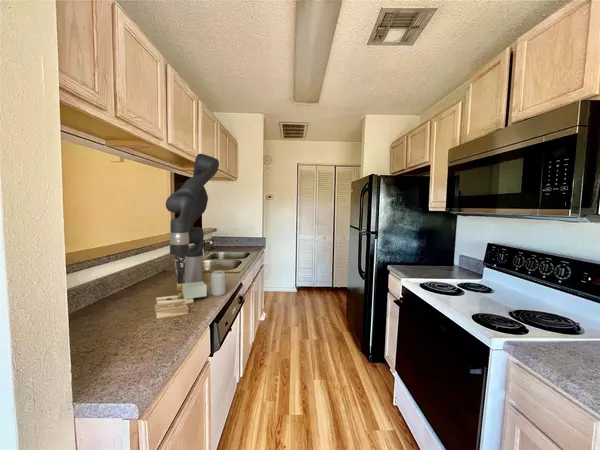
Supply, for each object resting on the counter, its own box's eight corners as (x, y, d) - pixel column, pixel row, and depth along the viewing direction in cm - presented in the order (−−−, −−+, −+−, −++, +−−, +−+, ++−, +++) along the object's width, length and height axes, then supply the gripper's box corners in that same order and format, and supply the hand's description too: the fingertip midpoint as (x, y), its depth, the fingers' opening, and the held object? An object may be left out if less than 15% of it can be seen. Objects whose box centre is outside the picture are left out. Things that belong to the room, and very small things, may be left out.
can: (227, 292, 148) (227, 270, 148) (222, 297, 141) (222, 273, 140) (214, 291, 149) (214, 269, 148) (208, 296, 142) (208, 272, 141)
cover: (181, 294, 138) (181, 283, 137) (202, 291, 143) (202, 281, 142) (184, 299, 131) (184, 287, 130) (206, 296, 136) (206, 285, 136)
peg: (176, 290, 121) (176, 269, 120) (181, 289, 122) (181, 269, 122) (177, 291, 119) (177, 270, 119) (182, 290, 120) (182, 270, 120)
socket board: (154, 310, 121) (154, 304, 121) (184, 306, 127) (184, 300, 127) (156, 318, 112) (156, 312, 112) (188, 313, 119) (188, 307, 118)
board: (156, 300, 133) (156, 292, 132) (189, 296, 140) (189, 288, 140) (158, 307, 124) (157, 298, 124) (193, 302, 132) (193, 294, 132)
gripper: (191, 244, 116) (191, 285, 117) (185, 240, 127) (185, 278, 128) (172, 245, 112) (172, 288, 113) (167, 241, 123) (167, 280, 124)
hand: (179, 282), depth 120 cm, fingers closed on peg, 2 cm apart
